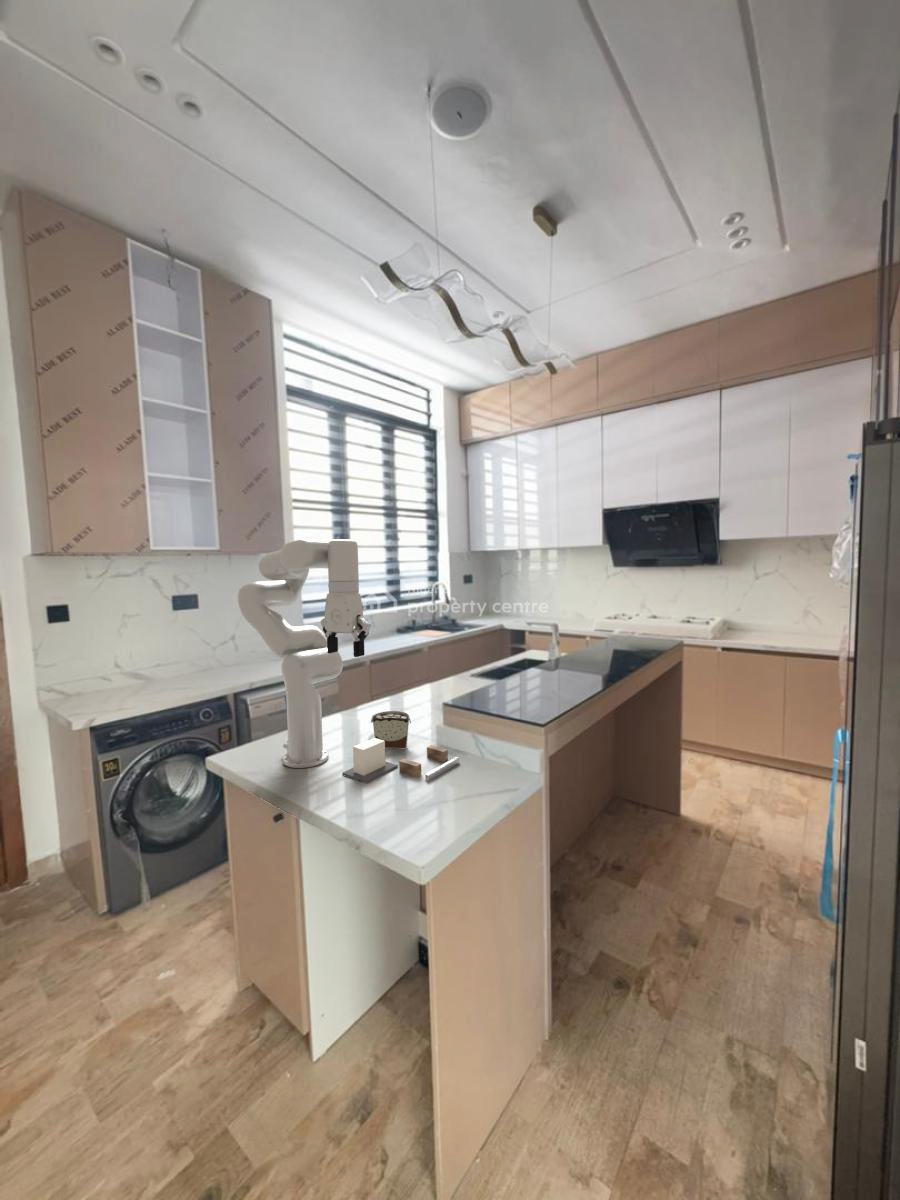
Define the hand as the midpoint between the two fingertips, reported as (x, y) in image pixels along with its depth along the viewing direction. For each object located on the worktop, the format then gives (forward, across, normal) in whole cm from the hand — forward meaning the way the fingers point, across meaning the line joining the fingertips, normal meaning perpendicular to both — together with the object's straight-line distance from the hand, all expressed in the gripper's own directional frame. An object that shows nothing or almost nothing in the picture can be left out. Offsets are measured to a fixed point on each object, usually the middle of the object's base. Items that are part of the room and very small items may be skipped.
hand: (345, 654), depth 126 cm
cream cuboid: (+33, +1, +7) cm, 33 cm away
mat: (+33, +1, +7) cm, 34 cm away
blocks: (+33, +13, +18) cm, 40 cm away
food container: (+33, -7, +25) cm, 42 cm away
